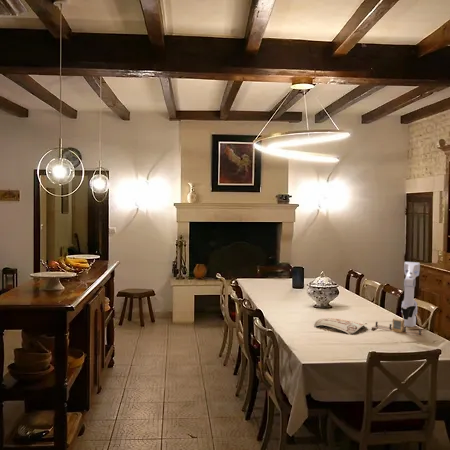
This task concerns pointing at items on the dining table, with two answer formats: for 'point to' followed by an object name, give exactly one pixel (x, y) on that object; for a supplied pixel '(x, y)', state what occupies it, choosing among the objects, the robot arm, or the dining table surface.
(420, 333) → the peg board
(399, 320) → the light brown rectangular slab
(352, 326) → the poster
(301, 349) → the dining table surface
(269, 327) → the dining table surface
